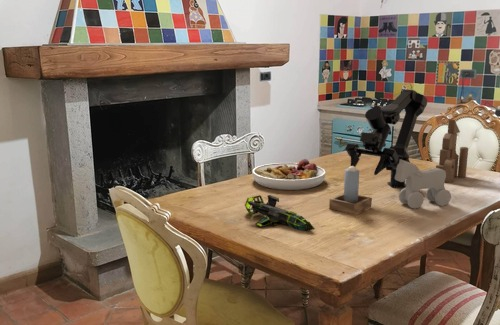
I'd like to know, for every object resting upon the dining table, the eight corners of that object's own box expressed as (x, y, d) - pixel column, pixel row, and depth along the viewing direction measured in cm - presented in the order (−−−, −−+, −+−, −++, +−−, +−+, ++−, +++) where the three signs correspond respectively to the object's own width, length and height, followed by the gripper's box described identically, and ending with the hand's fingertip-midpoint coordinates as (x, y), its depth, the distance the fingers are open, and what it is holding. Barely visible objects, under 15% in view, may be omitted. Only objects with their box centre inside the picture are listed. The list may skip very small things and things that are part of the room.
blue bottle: (341, 203, 176) (342, 165, 173) (353, 202, 177) (355, 164, 174) (347, 208, 172) (349, 168, 168) (360, 206, 173) (362, 167, 170)
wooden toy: (450, 183, 206) (455, 122, 200) (434, 180, 211) (439, 120, 205) (467, 176, 216) (472, 118, 211) (451, 174, 221) (456, 117, 215)
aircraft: (295, 247, 146) (297, 226, 145) (230, 218, 165) (231, 199, 164) (331, 232, 158) (333, 212, 157) (266, 206, 177) (267, 189, 175)
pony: (403, 212, 170) (406, 163, 167) (387, 203, 180) (390, 157, 176) (454, 207, 176) (458, 159, 172) (436, 198, 185) (439, 153, 182)
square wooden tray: (344, 201, 182) (345, 192, 181) (371, 207, 175) (371, 197, 175) (329, 208, 174) (329, 199, 173) (356, 215, 168) (357, 204, 167)
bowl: (301, 196, 189) (301, 176, 188) (237, 184, 207) (237, 165, 205) (337, 180, 213) (338, 162, 211) (278, 170, 230) (278, 153, 228)
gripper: (348, 121, 184) (331, 156, 178) (396, 126, 172) (380, 163, 167) (358, 139, 192) (342, 173, 186) (405, 145, 180) (390, 181, 174)
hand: (362, 172), depth 178 cm, fingers open, 9 cm apart
